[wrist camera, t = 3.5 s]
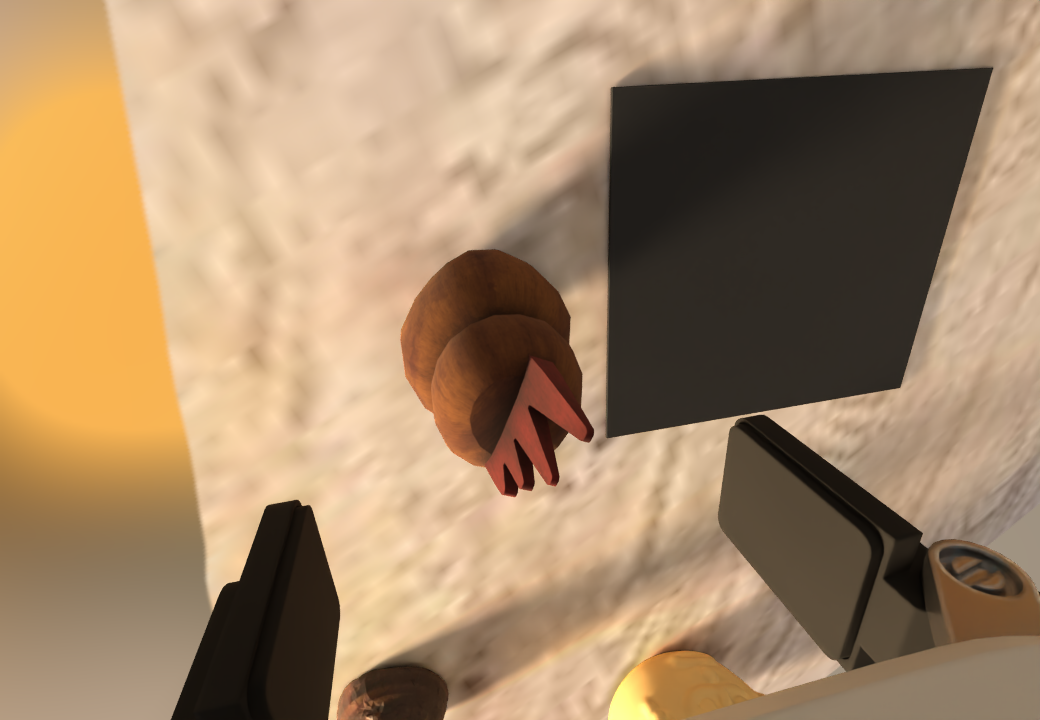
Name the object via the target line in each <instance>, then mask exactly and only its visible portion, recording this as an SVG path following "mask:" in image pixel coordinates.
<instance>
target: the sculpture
mask: <svg viewBox="0 0 1040 720" xmlns="http://www.w3.org/2000/svg"><path fill="white" fill-rule="evenodd" d="M761 696H764V694H761V693H758V692H756V691H754V690H752V689H751V688H750V687H749V686H748V685H747V684H746V683H745V682H744V681H742V680H741V679H740V678H739V677H737V676H736V675H735V674H734V673H732V672H731V671H730V670H728V669H727V668H726V667H724V666H723V665H721V664H720V663H718V662H716V661H715V659H714V658H713V657H711V656H710V655H707V654H705V653H700V652H695V651H673V652H667V653H663V654H659V655H656V656H654V657H651V658H649V659H647V660H645V661H644V662H642V663H640V664H639V665H638V666H637V667H635V668H634V669H633V670H632V671H631V672H630V673H629V674H628V675H627V677H626V678H625V679H624V680H623V682H622V683H621V685H620V686H619V688H618V689H617V691H616V693H615V695H614V697H613V700H612V703H611V706H610V711H609V717H608V720H682V719H686V718H689V717H693V716H696V715H699V714H703V713H706V712H710V711H713V710H716V709H720V708H723V707H727V706H730V705H733V704H737V703H740V702H744V701H747V700H750V699H754V698H757V697H761Z"/></svg>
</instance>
